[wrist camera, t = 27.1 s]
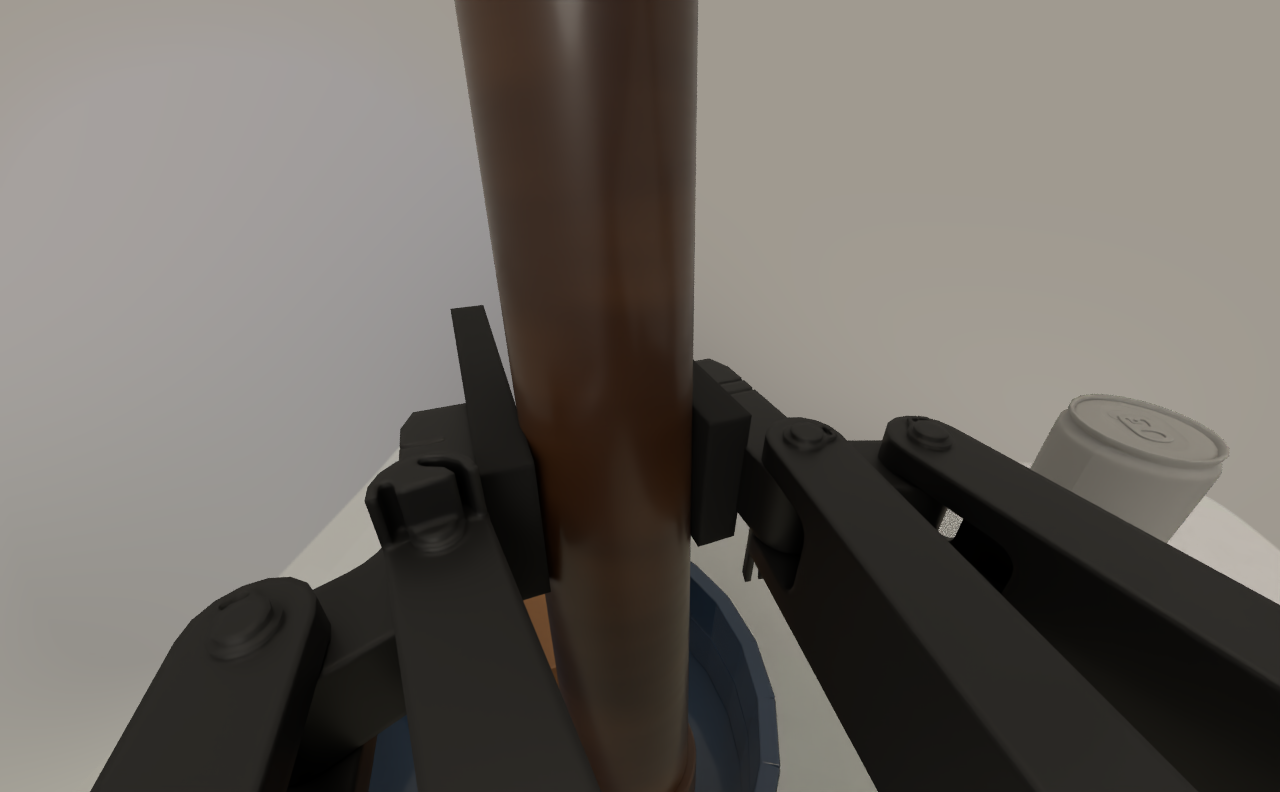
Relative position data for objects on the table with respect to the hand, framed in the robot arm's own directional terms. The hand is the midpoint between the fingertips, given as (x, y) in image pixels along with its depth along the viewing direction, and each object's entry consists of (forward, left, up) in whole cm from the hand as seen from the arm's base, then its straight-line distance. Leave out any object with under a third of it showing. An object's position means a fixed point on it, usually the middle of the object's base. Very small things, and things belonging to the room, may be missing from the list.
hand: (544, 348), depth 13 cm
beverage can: (-22, +4, -17) cm, 28 cm away
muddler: (0, +7, -9) cm, 11 cm away
